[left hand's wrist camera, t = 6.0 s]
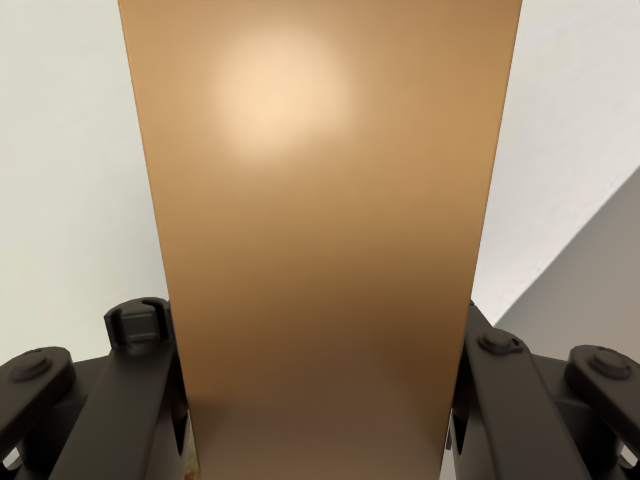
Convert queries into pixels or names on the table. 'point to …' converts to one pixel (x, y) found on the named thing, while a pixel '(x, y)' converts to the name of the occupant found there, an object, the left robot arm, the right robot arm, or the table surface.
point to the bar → (319, 219)
